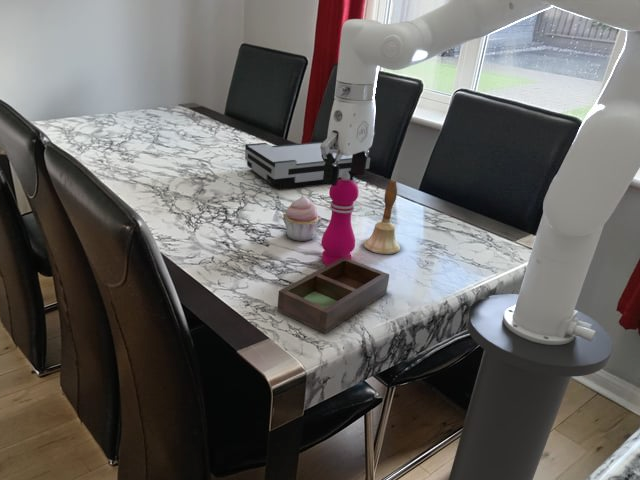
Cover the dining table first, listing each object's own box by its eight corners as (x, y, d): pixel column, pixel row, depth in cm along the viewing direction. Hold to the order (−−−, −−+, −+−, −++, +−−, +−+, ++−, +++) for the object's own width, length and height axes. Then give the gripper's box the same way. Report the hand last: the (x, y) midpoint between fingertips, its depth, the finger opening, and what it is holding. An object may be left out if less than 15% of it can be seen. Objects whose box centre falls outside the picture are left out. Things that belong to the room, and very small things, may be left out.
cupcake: (314, 227, 142) (317, 188, 137) (324, 243, 134) (328, 202, 129) (277, 229, 141) (279, 189, 136) (285, 244, 133) (287, 203, 128)
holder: (386, 293, 114) (389, 274, 112) (324, 334, 100) (327, 313, 98) (341, 275, 120) (343, 256, 118) (277, 311, 107) (278, 290, 105)
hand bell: (388, 237, 138) (398, 173, 130) (406, 252, 131) (418, 185, 124) (357, 241, 136) (366, 175, 128) (374, 256, 129) (384, 187, 121)
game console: (367, 180, 176) (370, 153, 172) (273, 191, 164) (275, 163, 160) (332, 161, 193) (334, 136, 189) (244, 170, 181) (245, 144, 177)
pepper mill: (333, 251, 130) (343, 165, 121) (359, 262, 126) (371, 173, 116) (312, 260, 126) (320, 171, 116) (338, 271, 122) (349, 180, 112)
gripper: (345, 100, 101) (334, 193, 109) (395, 89, 112) (382, 174, 121) (311, 93, 105) (303, 183, 114) (363, 83, 117) (352, 166, 125)
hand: (344, 178), depth 117 cm, fingers open, 9 cm apart
